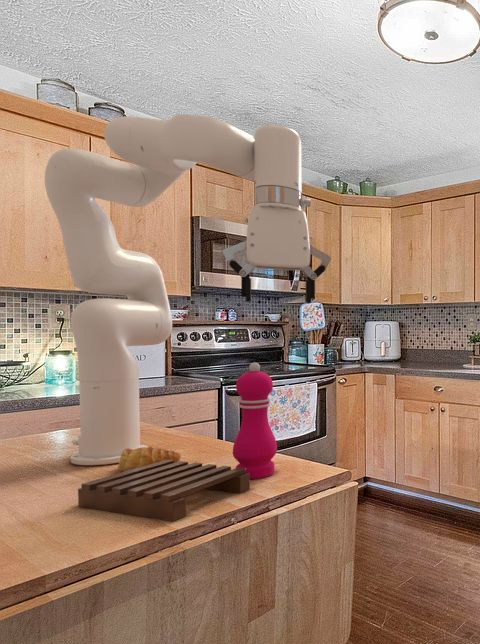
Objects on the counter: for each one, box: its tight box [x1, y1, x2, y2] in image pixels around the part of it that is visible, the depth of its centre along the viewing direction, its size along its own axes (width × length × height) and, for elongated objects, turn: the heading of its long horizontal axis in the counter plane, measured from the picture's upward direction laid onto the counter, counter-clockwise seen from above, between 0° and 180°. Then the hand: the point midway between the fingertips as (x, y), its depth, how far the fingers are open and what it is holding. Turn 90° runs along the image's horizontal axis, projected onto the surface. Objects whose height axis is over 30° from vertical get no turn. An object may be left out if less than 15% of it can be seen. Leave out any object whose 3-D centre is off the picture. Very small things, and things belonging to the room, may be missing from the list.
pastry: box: [117, 446, 181, 472], centre depth 92 cm, size 9×7×4 cm
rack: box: [77, 460, 251, 522], centre depth 76 cm, size 18×14×3 cm
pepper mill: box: [232, 362, 278, 480], centre depth 88 cm, size 7×7×20 cm
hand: (279, 302), depth 86 cm, fingers open, 9 cm apart
